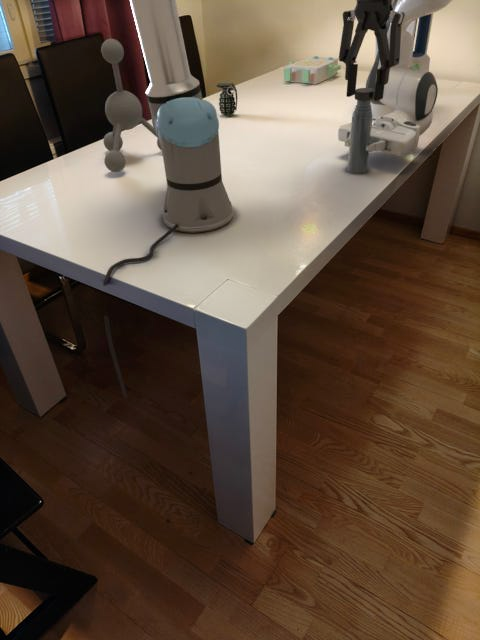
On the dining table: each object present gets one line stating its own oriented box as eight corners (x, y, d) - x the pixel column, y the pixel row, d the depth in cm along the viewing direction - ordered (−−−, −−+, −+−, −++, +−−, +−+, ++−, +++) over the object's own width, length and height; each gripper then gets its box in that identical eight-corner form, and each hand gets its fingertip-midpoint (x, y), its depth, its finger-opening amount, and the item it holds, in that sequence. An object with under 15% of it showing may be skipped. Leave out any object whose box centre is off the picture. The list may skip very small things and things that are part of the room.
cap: (355, 95, 116) (356, 87, 115) (374, 96, 115) (375, 88, 114) (353, 100, 113) (354, 92, 112) (372, 101, 112) (373, 92, 111)
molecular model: (189, 163, 134) (174, 38, 115) (109, 178, 128) (80, 49, 110) (167, 139, 151) (151, 28, 133) (95, 151, 145) (69, 36, 127)
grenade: (217, 117, 168) (214, 86, 162) (221, 112, 172) (219, 82, 166) (235, 117, 166) (233, 86, 160) (239, 113, 171) (238, 82, 165)
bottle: (349, 165, 127) (356, 91, 116) (368, 167, 126) (376, 91, 115) (345, 172, 124) (352, 96, 113) (364, 174, 122) (373, 97, 111)
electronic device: (396, 96, 178) (410, -2, 160) (386, 91, 184) (398, -4, 166) (427, 92, 181) (443, -5, 162) (416, 87, 186) (431, -6, 168)
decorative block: (306, 54, 217) (347, 57, 207) (305, 70, 221) (345, 73, 211) (275, 65, 201) (318, 69, 191) (275, 82, 205) (317, 87, 195)
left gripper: (326, -21, 103) (320, 95, 117) (412, -21, 92) (394, 107, 106) (345, -24, 107) (337, 88, 122) (430, -25, 97) (410, 99, 111)
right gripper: (357, 113, 132) (325, 125, 125) (426, 126, 120) (395, 141, 112) (354, 136, 136) (323, 150, 128) (421, 152, 124) (391, 168, 116)
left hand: (364, 97), depth 114 cm, fingers open, 7 cm apart
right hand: (357, 146), depth 120 cm, fingers closed on bottle, 5 cm apart
